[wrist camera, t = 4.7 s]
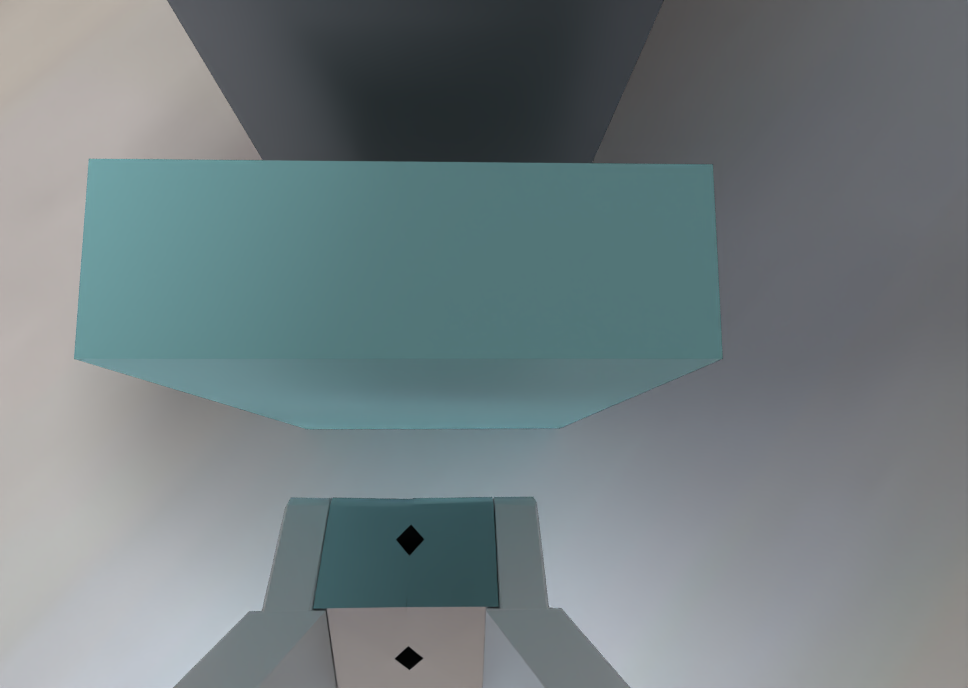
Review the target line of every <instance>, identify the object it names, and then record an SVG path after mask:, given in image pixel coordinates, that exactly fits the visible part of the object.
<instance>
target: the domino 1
mask: <svg viewBox="0 0 968 688" xmlns="http://www.w3.org/2000/svg"><path fill="white" fill-rule="evenodd" d="M167 1H168V3H169V4H170V6H171V8H172V9H173V11H174V13H175V14H176V16H177V18H178V19H179V21H180V23H181V24H182V26H183V28H184V29H185V31H186V33H187V34H188V36H189V38H190V39H191V41H192V43H193V44H194V46H195V48H196V49H197V51H198V53H199V54H200V56H201V58H202V59H203V61H204V63H205V64H206V66H207V68H208V69H209V71H210V73H211V74H212V76H213V78H214V79H215V81H216V83H217V84H218V86H219V88H220V89H221V91H222V93H223V94H224V96H225V98H226V99H227V101H228V103H229V104H230V106H231V108H232V109H233V111H234V113H235V114H236V116H237V118H238V119H239V121H240V123H241V124H242V126H243V128H244V129H245V131H246V133H247V134H248V136H249V138H250V139H251V141H252V143H253V144H254V146H255V148H256V149H257V151H258V153H259V154H260V156H261V158H262V159H263V160H281V161H394V162H506V163H592V161H593V159H594V157H595V155H596V152H597V150H598V148H599V146H600V143H601V141H602V139H603V136H604V134H605V132H606V130H607V127H608V125H609V123H610V121H611V118H612V116H613V114H614V112H615V109H616V107H617V105H618V103H619V100H620V98H621V96H622V94H623V91H624V89H625V87H626V85H627V82H628V80H629V78H630V75H631V73H632V71H633V69H634V66H635V64H636V62H637V60H638V57H639V55H640V53H641V51H642V48H643V46H644V44H645V42H646V39H647V37H648V35H649V33H650V30H651V28H652V26H653V24H654V21H655V19H656V17H657V14H658V12H659V10H660V8H661V5H662V3H663V1H664V0H167Z"/></svg>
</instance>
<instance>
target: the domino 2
mask: <svg viewBox="0 0 968 688" xmlns="http://www.w3.org/2000/svg"><path fill="white" fill-rule="evenodd" d="M74 359H77V360H80V361H83V362H87V363H90V364H93V365H96V366H100V367H103V368H106V369H110V370H113V371H116V372H120V373H123V374H126V375H129V376H133V377H136V378H139V379H143V380H146V381H149V382H153V383H156V384H159V385H163V386H166V387H169V388H172V389H176V390H179V391H182V392H186V393H189V394H192V395H196V396H199V397H202V398H206V399H209V400H212V401H215V402H219V403H222V404H225V405H229V406H232V407H235V408H239V409H242V410H245V411H249V412H252V413H255V414H258V415H262V416H265V417H268V418H272V419H275V420H278V421H282V422H285V423H288V424H291V425H295V426H298V427H301V428H305V429H505V428H562V427H564V426H566V425H569V424H571V423H573V422H576V421H578V420H580V419H583V418H585V417H587V416H590V415H592V414H594V413H597V412H599V411H602V410H604V409H606V408H609V407H611V406H613V405H616V404H618V403H620V402H623V401H625V400H627V399H630V398H632V397H634V396H637V395H639V394H641V393H644V392H646V391H648V390H651V389H653V388H655V387H658V386H660V385H662V384H665V383H667V382H669V381H672V380H674V379H677V378H679V377H681V376H684V375H686V374H688V373H691V372H693V371H695V370H698V369H700V368H702V367H705V366H707V365H709V364H712V363H714V362H716V361H719V360H721V359H723V354H722V334H721V315H720V295H719V276H718V256H717V237H716V217H715V197H714V178H713V164H619V163H506V162H394V161H281V160H168V159H89V164H88V178H87V191H86V205H85V218H84V232H83V245H82V259H81V272H80V286H79V299H78V313H77V327H76V340H75V354H74Z"/></svg>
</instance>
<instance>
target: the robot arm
mask: <svg viewBox="0 0 968 688" xmlns="http://www.w3.org/2000/svg"><path fill="white" fill-rule="evenodd" d="M173 688H630V687H629V686H628V684H627V683H626V682H625V681H624V680H623V679H622V678H621V676H620V675H619V674H618V673H617V672H616V671H615V669H614V668H613V667H612V666H611V665H610V664H609V663H608V661H607V660H606V659H605V658H604V657H603V656H602V655H601V653H600V652H599V651H598V650H597V649H596V648H595V646H594V645H593V644H592V643H591V642H590V641H589V640H588V638H587V637H586V636H585V635H584V634H583V633H582V632H581V630H580V629H579V628H578V627H577V626H576V625H575V623H574V622H573V621H572V620H571V619H570V618H569V617H568V615H567V614H566V613H565V612H564V611H563V610H562V609H561V608H549V605H548V596H547V587H546V578H545V570H544V561H543V552H542V543H541V534H540V526H539V517H538V508H537V502H536V501H535V499H534V497H494V499H492V497H466V498H413V499H377V498H290V500H289V502H288V504H287V506H286V507H285V511H284V515H283V519H282V524H281V528H280V533H279V537H278V542H277V546H276V551H275V555H274V559H273V564H272V568H271V573H270V577H269V582H268V586H267V590H266V595H265V599H264V604H263V608H262V611H249V612H248V613H247V614H246V615H245V616H244V617H243V618H242V619H241V620H240V621H239V622H238V623H237V624H236V625H235V626H234V627H233V628H232V629H231V630H230V631H229V632H228V633H227V634H226V635H225V636H224V637H223V638H222V639H221V640H220V641H219V642H218V643H217V644H216V645H215V646H214V647H213V648H212V649H211V650H210V651H209V652H208V653H207V654H206V655H205V656H204V657H203V658H202V659H201V660H200V661H199V662H198V663H197V664H196V665H195V666H194V667H193V668H192V669H191V670H190V671H189V672H188V673H187V674H186V675H185V676H184V677H183V678H182V679H181V680H180V681H179V682H178V683H177V684H176V685H175V686H174V687H173Z"/></svg>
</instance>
